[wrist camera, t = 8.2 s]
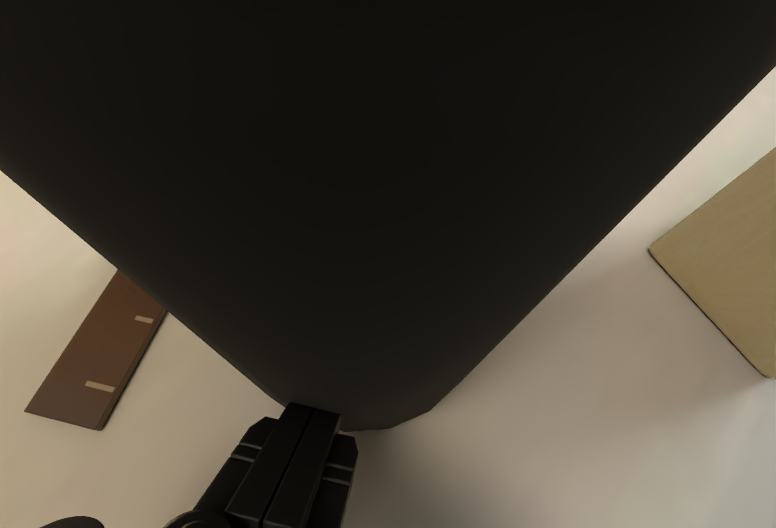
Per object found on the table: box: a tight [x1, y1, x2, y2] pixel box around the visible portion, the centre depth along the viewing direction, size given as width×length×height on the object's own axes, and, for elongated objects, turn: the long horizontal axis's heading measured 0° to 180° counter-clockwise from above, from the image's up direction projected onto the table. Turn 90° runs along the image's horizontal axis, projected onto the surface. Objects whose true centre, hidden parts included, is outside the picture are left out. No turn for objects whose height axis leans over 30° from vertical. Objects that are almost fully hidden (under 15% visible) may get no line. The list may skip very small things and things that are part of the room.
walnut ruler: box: [24, 270, 167, 431], centre depth 18 cm, size 15×3×1 cm, turn 168°
